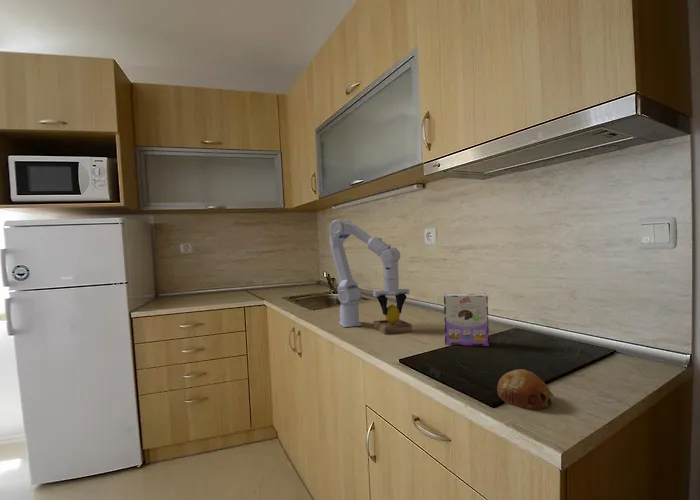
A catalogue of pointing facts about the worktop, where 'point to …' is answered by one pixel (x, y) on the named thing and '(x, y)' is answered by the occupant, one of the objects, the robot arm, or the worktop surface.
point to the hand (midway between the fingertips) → (392, 313)
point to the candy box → (466, 319)
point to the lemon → (392, 314)
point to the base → (392, 327)
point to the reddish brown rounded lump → (524, 390)
